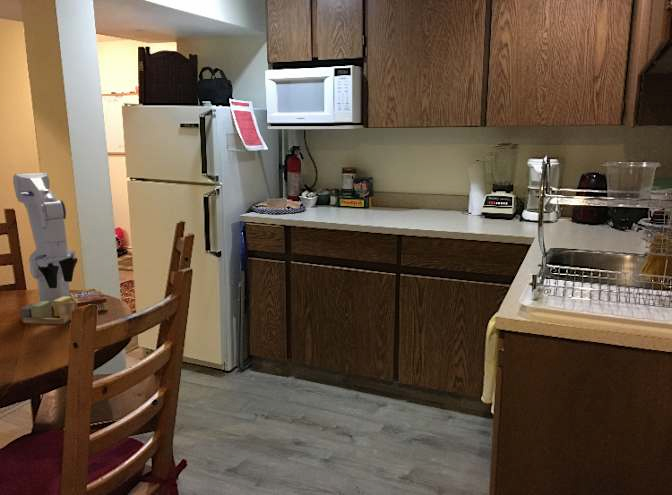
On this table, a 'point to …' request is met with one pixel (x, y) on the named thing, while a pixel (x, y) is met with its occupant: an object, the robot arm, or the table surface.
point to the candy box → (89, 298)
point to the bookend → (26, 311)
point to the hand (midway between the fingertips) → (60, 284)
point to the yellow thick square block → (60, 303)
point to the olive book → (41, 309)
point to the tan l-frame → (64, 317)
